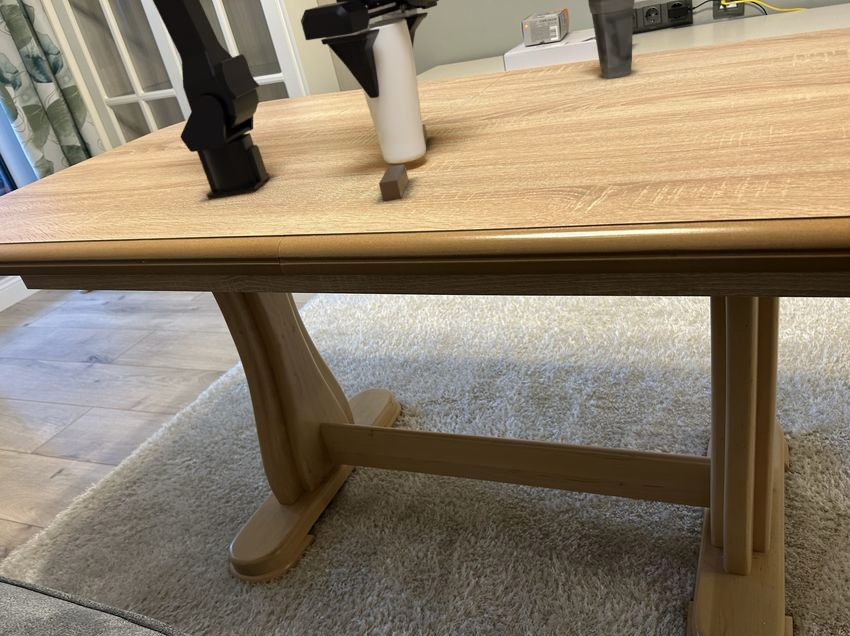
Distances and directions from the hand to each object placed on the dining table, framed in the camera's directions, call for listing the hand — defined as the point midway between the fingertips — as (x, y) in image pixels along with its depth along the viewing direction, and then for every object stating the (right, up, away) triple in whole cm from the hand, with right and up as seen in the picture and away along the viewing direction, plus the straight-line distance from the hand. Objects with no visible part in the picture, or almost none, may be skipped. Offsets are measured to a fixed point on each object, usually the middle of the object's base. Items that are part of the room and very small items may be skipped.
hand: (390, 90), depth 82 cm
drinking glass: (+1, -7, +4) cm, 8 cm away
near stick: (+1, -12, -4) cm, 13 cm away
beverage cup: (+33, +13, +30) cm, 46 cm away
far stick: (+2, -3, +13) cm, 13 cm away
